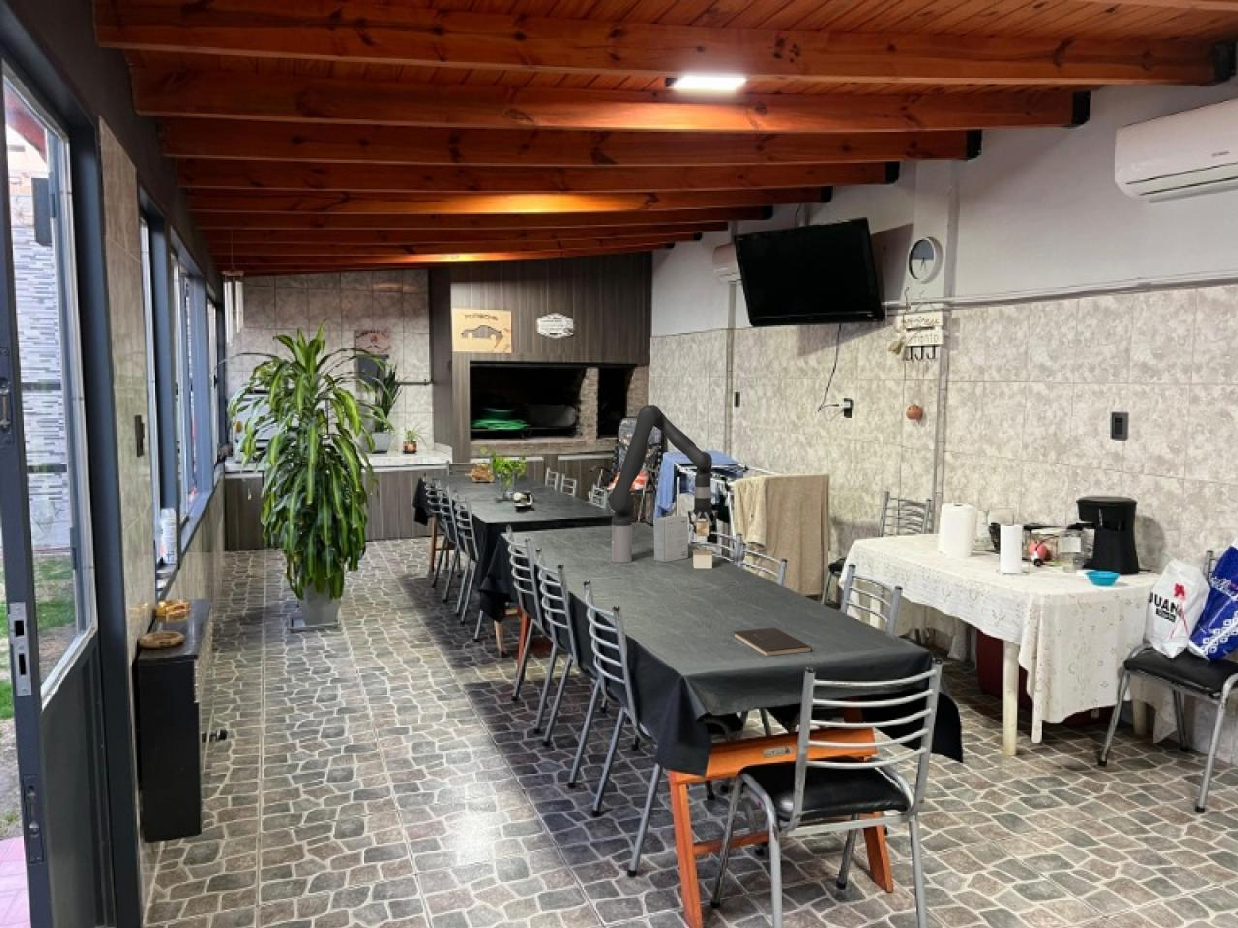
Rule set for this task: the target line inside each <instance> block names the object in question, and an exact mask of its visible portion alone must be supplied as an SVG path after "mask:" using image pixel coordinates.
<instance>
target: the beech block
mask: <svg viewBox="0 0 1238 928" xmlns="http://www.w3.org/2000/svg"><path fill="white" fill-rule="evenodd" d="M696 526H697V534H696V535H695V536H696V537H709V536H710V534H709V522H708V521H707V520H698V522H697V524H696Z"/></svg>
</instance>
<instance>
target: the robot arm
mask: <svg viewBox="0 0 1238 928" xmlns="http://www.w3.org/2000/svg"><path fill="white" fill-rule="evenodd" d="M637 414H638V415H637V419H636V424H635V427H634V432H633V435H632V437H631V439H630V441H629V444H628V447H627V450H626V453H625V456H624V459H623V461H622V465H621V468H620V471H619V475H618V478H617V480H616V484H615V485H614V487H613V489H612V491H611V494H610V496H609V500H608V501H609V506H610V508H611V509H612V511H614V515H613V516H612V518H611V563H617V564H618V563H619V564H621V563H623V564H624V563H630V562H632V557H633V555H632V553H633V552H632V541H633V540H632V539H633V538H632V533H633V531H632V526H633V525H632V524H633V523H632V522H633V518H634V496H633V494H632V493H631V488H632V486H633V483H634V482H635V480H636V479H637V478H638V476H639V474H640V473H641V471H642V469H643V467H644V464H645V461H646V459H647V455H648V447H649V439H650V436H651V434H652V430H653V428H656V429H657V430H659V431H660V432H661V433H663V434H664V436H665V437H666V438H667V439H668V441H669V442H670V443H671V444H672V445H673V446H674V447H675V448H676V449H677V450H678V451H679V452H681V454H683V455H685V457H686V458H687V459H688V460H689V462H691V463H692V465H694V466H695V467H696V473H695V476H694V493H693V496H694V501H693V502H694V503H693V504H694V506H693V510H687V518H688V522H689V524H690V525H692V526H693V530H692V531H693V533H694V534H697V526H696V524H697V522H698V521H700V520H706V521H708V522H709V535H710V534H711V533H712V532H713V526H714V525H716V524H717V520H718V519H717V518H718V515H719V511H718V510H712V490H711V489H712V488H711V480H712V479H711V473H712V466H713V465H712V463H713V462H712V461H713V460H712V456H711V454H710V453H709V452H707V451H702V450H701V449H700V448H698V446H697V444H696V443H695V442H694V441H692V439H691V438H689V437H688V436H687V435H686V434H685V433H684V432H682V431H681V430H680V429H679V428H678V427H676V426H675V425H674V423H672V422H671V421H670V419H669V418H668V417H666V415H665V414H664V413H663V411H661V409H660V408H659V406H657V405H653V404H648V405H645V406H643V407H641V409H640V410H639V411H638V413H637ZM693 514H694V515H695V519H694V521H693V519H692V516H693ZM711 515H712V516H713V519H712V521H711V519H710V516H711Z"/></svg>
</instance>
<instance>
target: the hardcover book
mask: <svg viewBox="0 0 1238 928" xmlns="http://www.w3.org/2000/svg"><path fill="white" fill-rule="evenodd" d="M733 633H734V637H735V638H736V639H738V640H740V641H742V642H743V643H744V644H746V645H747V646H749V647H751V648H753V649H755V650H756V651H758V652H759V653H761V654H762V655H764V656H766V657H770V656H779V655H788V654H789V655H791V654H798V653H806V652H812V646H811V645H808V644H807V643H805V642H803V641H801V640H799V639H798V638H795V637H794V636H792V635H790V634H788V633H786V632H784V631H782V629H779V628H777V627H767V628H765V627H764V628H755V629H746V630H745V629H744V630H734V631H733Z"/></svg>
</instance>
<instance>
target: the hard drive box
mask: <svg viewBox="0 0 1238 928" xmlns="http://www.w3.org/2000/svg"><path fill="white" fill-rule="evenodd" d="M688 544H689V543H688V516H684V515H677V514H675V515H669V516H663V517H657V518H653V560H654V561H656V562H661V563H668V562H673V561H679V560H684V559H688V557H689V555H688V554H689V553H688V551H689V550H688V549H689V548H688V546H689V545H688Z"/></svg>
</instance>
